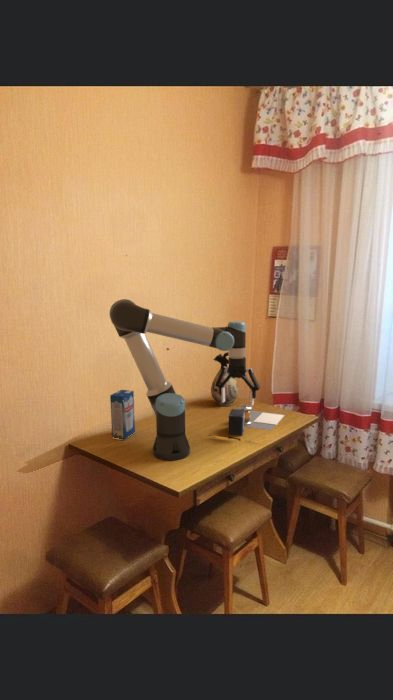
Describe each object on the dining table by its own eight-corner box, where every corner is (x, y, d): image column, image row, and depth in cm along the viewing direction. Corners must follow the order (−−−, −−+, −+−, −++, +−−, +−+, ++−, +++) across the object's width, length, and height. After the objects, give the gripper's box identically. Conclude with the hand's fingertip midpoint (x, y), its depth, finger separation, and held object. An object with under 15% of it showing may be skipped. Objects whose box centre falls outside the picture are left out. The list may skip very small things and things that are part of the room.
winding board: (232, 427, 203) (232, 423, 203) (249, 413, 224) (249, 409, 224) (271, 433, 195) (271, 429, 195) (285, 417, 216) (285, 414, 216)
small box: (242, 439, 188) (242, 416, 186) (227, 438, 189) (227, 415, 188) (244, 431, 198) (245, 409, 197) (230, 430, 200) (230, 408, 198)
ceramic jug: (206, 406, 237) (206, 352, 232) (216, 399, 251) (216, 348, 246) (236, 409, 230) (236, 354, 225) (244, 402, 244) (244, 350, 239)
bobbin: (235, 424, 203) (235, 407, 202) (240, 419, 210) (240, 403, 208) (249, 426, 200) (249, 409, 199) (254, 421, 207) (254, 405, 205)
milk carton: (123, 431, 200) (121, 389, 196) (135, 432, 198) (133, 390, 194) (112, 438, 190) (110, 395, 187) (124, 440, 188) (122, 396, 185)
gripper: (267, 356, 186) (267, 404, 189) (214, 353, 197) (215, 398, 200) (262, 360, 179) (262, 409, 183) (207, 356, 190) (208, 402, 194)
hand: (237, 403), depth 192 cm, fingers open, 13 cm apart
